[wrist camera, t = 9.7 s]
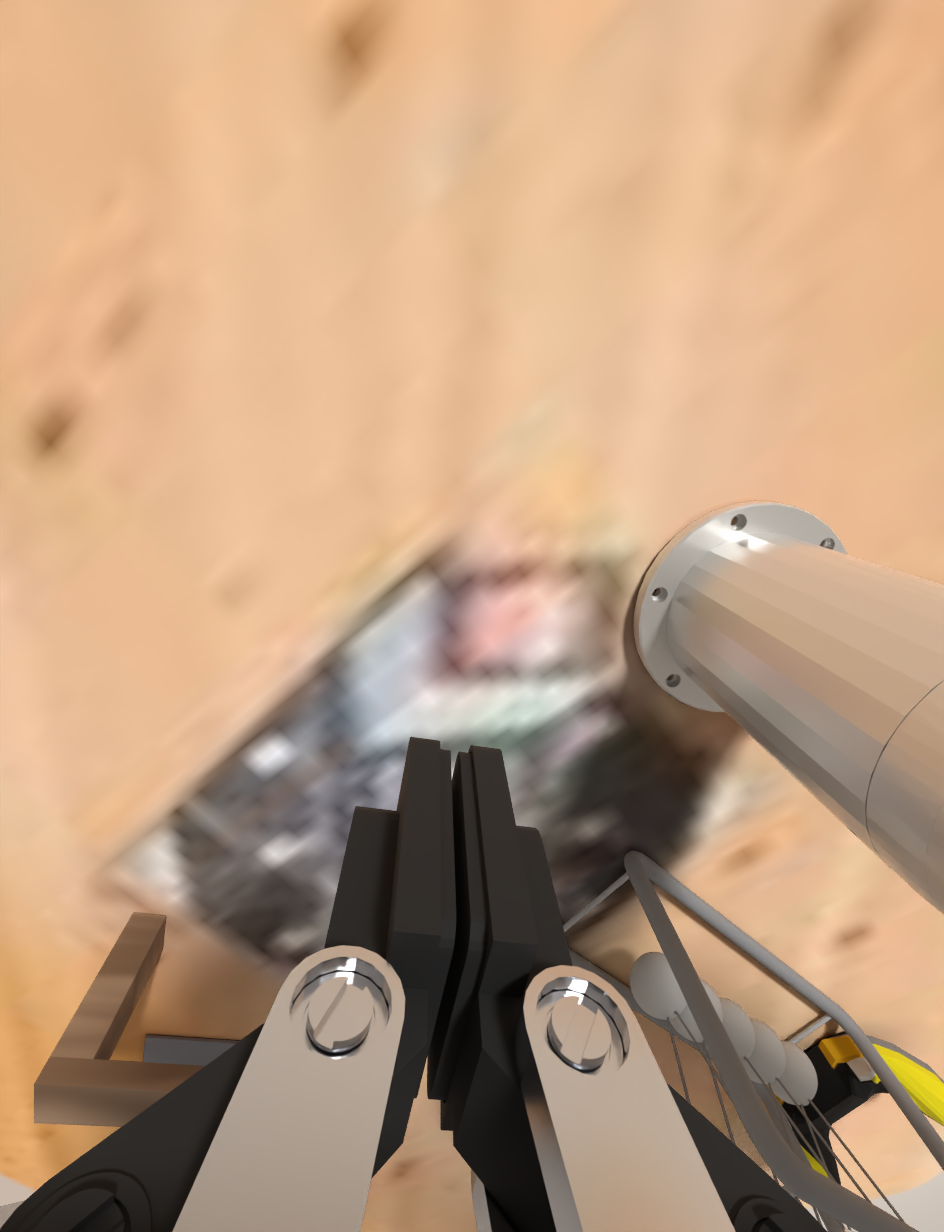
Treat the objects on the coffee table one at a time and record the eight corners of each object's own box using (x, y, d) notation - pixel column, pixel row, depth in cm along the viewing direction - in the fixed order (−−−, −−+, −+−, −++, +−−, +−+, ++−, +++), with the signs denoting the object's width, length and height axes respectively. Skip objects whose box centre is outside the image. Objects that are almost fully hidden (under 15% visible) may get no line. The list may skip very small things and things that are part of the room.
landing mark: (315, 1046, 41) (314, 1049, 41) (292, 1144, 45) (291, 1147, 44) (146, 1034, 39) (145, 1037, 39) (136, 1138, 43) (135, 1141, 42)
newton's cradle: (850, 1012, 46) (1096, 1349, 29) (754, 1079, 48) (933, 1431, 31) (623, 835, 37) (791, 1174, 20) (516, 926, 39) (590, 1305, 22)
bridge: (133, 912, 35) (34, 1084, 26) (363, 936, 38) (346, 1100, 29) (130, 946, 36) (34, 1123, 27) (356, 967, 39) (337, 1135, 30)
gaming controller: (919, 1045, 49) (861, 1001, 46) (979, 1120, 43) (917, 1075, 40) (788, 1134, 51) (725, 1098, 48) (829, 1214, 46) (762, 1178, 43)
